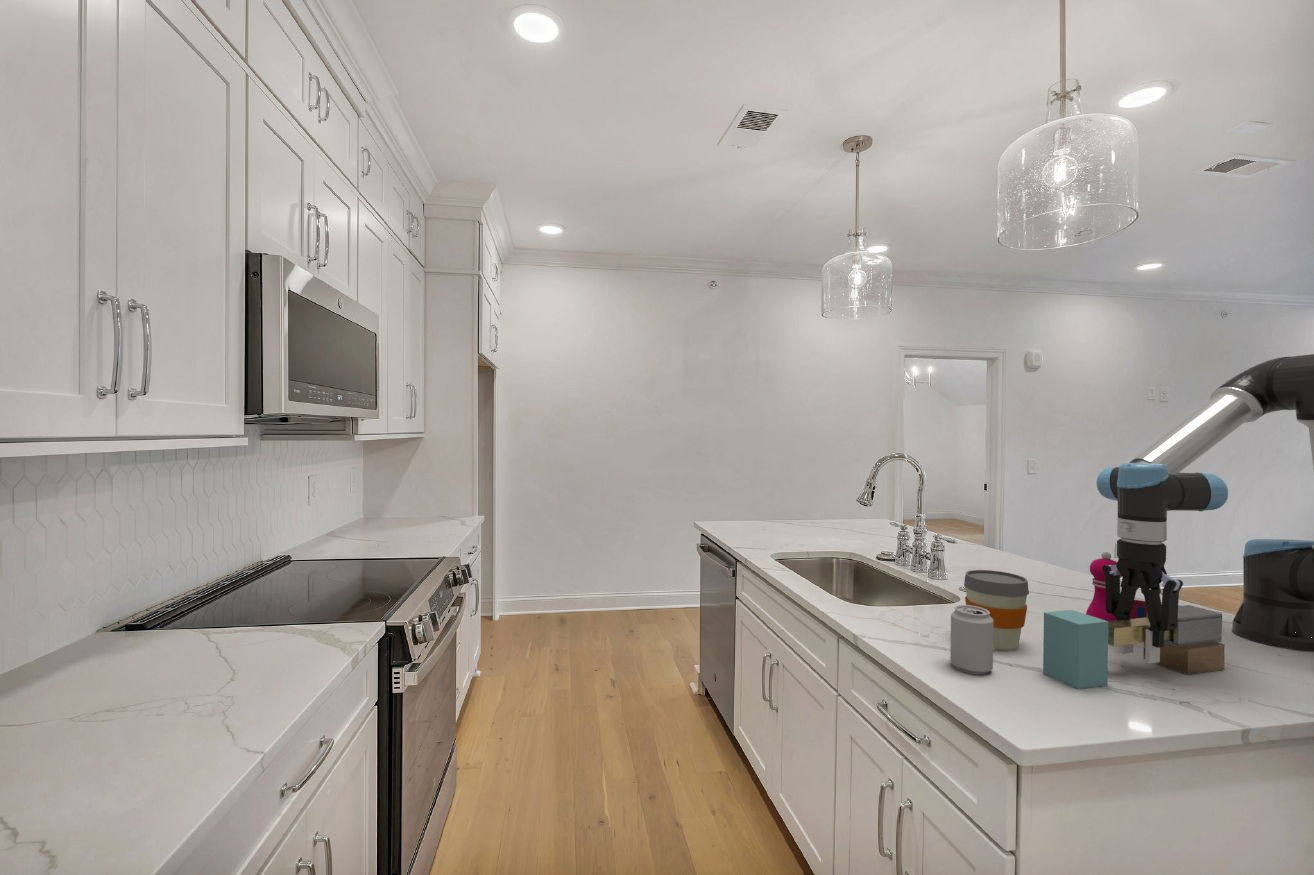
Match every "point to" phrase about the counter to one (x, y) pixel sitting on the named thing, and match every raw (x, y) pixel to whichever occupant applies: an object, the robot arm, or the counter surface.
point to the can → (971, 639)
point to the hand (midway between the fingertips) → (1139, 656)
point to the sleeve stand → (1194, 642)
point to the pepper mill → (1100, 588)
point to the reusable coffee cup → (999, 603)
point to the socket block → (1075, 648)
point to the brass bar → (1131, 631)
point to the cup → (1138, 609)
